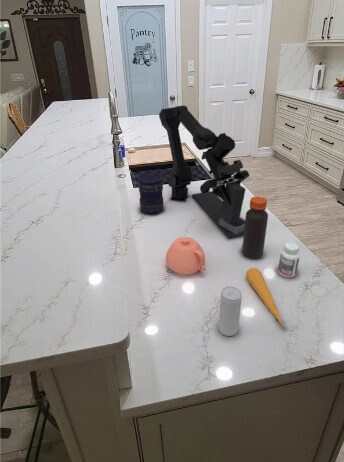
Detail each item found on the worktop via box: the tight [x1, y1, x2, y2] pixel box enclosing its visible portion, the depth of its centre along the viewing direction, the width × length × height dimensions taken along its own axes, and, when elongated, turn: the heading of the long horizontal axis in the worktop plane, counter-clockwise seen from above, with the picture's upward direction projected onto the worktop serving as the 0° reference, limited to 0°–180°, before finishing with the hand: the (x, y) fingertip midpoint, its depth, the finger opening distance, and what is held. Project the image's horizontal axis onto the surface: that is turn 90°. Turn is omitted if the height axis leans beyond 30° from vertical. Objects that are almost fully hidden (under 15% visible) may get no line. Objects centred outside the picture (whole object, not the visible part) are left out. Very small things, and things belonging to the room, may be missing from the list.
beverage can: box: [218, 285, 243, 337], centre depth 79 cm, size 5×5×12 cm
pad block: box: [220, 182, 246, 223], centre depth 116 cm, size 4×6×13 cm, turn 27°
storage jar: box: [137, 171, 164, 216], centre depth 134 cm, size 10×10×15 cm
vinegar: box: [241, 196, 269, 260], centre depth 105 cm, size 7×7×20 cm
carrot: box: [245, 267, 284, 327], centre depth 90 cm, size 20×4×4 cm, turn 12°
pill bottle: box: [277, 241, 301, 278], centre depth 98 cm, size 5×5×10 cm
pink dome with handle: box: [165, 236, 206, 276], centre depth 101 cm, size 12×14×10 cm
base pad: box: [191, 190, 245, 240], centre depth 133 cm, size 37×10×4 cm, turn 18°
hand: (235, 203), depth 115 cm, fingers closed on pad block, 4 cm apart
